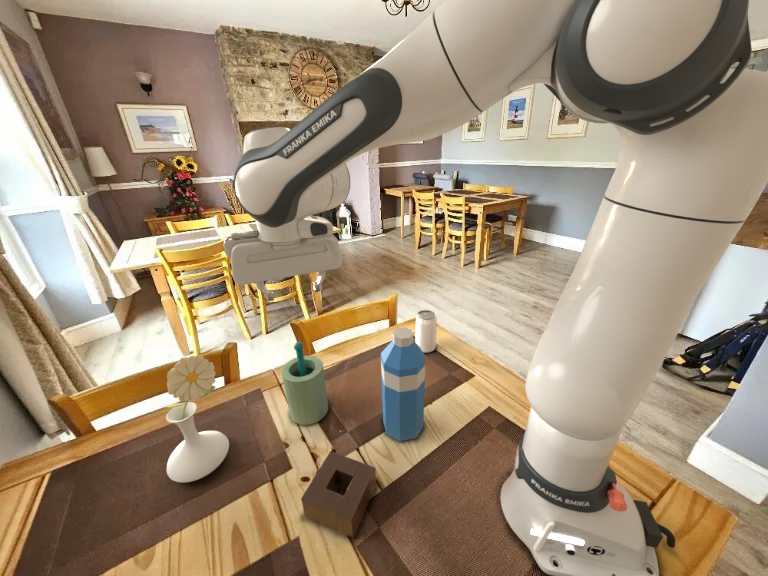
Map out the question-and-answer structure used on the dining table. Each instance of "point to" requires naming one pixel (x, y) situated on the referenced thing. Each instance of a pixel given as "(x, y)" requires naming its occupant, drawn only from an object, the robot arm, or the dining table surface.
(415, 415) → the water bottle
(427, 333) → the can
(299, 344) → the bottle brush
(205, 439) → the flower in vase
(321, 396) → the jar
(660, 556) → the dining table surface
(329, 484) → the brush holder
